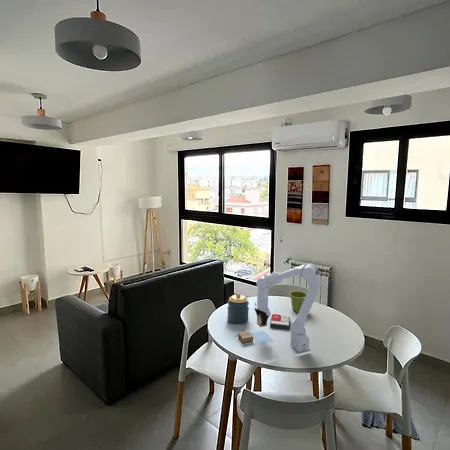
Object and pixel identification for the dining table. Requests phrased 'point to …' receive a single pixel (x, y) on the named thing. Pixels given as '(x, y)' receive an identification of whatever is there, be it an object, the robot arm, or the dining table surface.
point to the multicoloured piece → (280, 321)
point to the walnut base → (245, 337)
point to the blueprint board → (257, 339)
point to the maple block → (260, 321)
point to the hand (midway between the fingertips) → (261, 322)
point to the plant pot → (297, 300)
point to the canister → (238, 309)
